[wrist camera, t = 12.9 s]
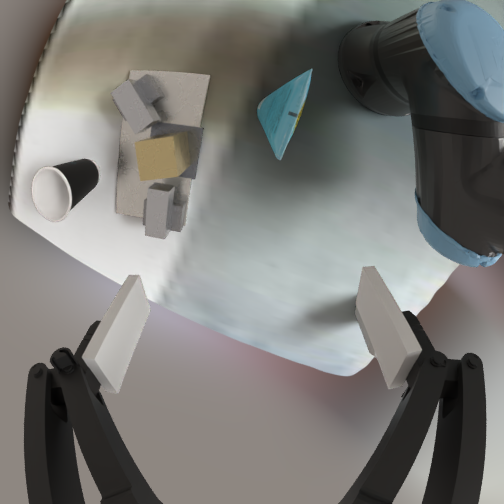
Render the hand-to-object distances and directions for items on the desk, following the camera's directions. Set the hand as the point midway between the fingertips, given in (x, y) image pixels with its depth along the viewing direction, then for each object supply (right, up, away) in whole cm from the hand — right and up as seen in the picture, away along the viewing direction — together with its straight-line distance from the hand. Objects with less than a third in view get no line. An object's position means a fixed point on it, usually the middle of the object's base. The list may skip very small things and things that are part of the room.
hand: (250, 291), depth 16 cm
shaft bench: (-14, +18, +21) cm, 31 cm away
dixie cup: (-27, +15, +23) cm, 38 cm away
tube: (+3, +21, +19) cm, 29 cm away
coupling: (-11, +17, +21) cm, 29 cm away
